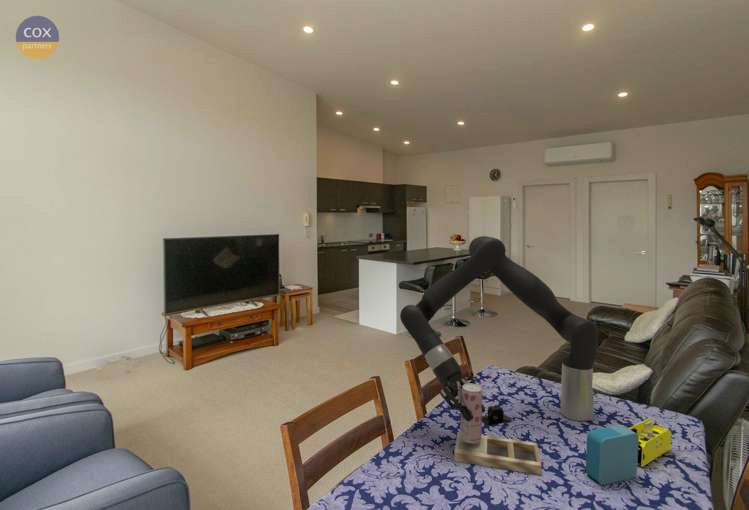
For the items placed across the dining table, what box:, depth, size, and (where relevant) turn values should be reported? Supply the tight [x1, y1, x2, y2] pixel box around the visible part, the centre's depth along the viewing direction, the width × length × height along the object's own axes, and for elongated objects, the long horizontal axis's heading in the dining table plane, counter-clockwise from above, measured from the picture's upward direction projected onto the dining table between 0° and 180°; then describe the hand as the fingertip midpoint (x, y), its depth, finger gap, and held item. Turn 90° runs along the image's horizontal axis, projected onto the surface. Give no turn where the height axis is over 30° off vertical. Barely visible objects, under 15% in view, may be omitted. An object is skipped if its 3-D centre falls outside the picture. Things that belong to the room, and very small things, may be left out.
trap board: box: [453, 431, 543, 476], centre depth 109 cm, size 22×11×3 cm, turn 74°
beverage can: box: [460, 383, 483, 444], centre depth 110 cm, size 6×6×15 cm
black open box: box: [482, 404, 514, 426], centre depth 130 cm, size 12×7×5 cm, turn 106°
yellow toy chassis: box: [628, 417, 672, 468], centre depth 109 cm, size 16×6×8 cm, turn 121°
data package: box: [585, 424, 639, 486], centre depth 100 cm, size 12×4×12 cm, turn 106°
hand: (476, 416), depth 109 cm, fingers closed on beverage can, 5 cm apart
